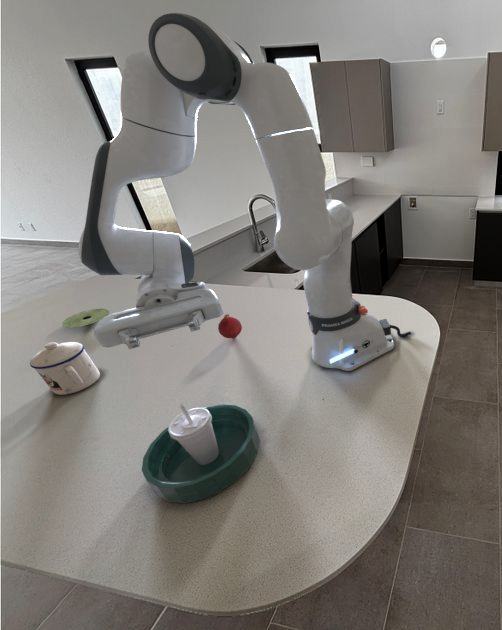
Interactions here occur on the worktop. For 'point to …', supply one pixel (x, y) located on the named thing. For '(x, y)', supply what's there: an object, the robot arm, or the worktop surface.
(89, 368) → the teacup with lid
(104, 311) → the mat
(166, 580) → the worktop surface
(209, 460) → the smoothie
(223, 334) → the onion
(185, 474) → the green round tray
